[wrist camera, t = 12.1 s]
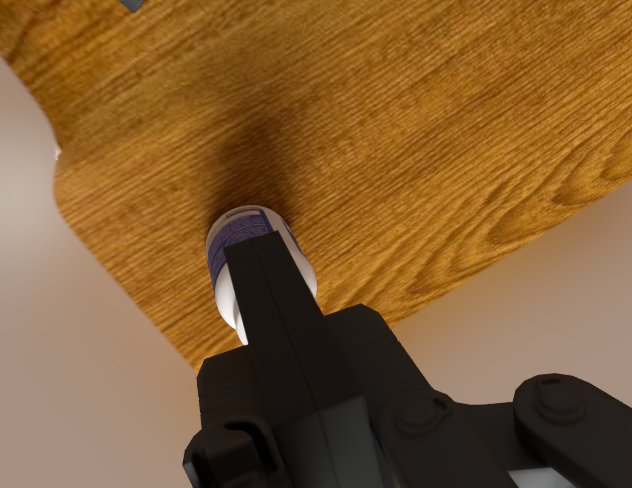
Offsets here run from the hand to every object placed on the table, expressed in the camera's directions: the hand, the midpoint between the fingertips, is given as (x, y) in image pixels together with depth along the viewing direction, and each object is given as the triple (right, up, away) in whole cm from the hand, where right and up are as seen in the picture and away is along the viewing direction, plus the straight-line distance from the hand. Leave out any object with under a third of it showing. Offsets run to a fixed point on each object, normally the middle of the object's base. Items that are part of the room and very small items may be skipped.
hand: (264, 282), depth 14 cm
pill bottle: (-3, +1, +18) cm, 19 cm away
